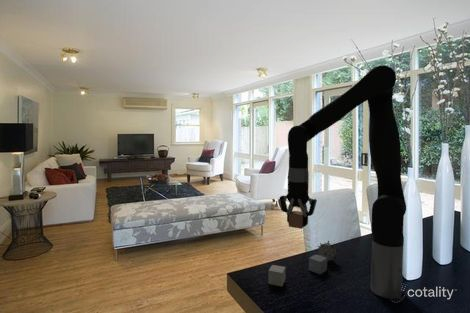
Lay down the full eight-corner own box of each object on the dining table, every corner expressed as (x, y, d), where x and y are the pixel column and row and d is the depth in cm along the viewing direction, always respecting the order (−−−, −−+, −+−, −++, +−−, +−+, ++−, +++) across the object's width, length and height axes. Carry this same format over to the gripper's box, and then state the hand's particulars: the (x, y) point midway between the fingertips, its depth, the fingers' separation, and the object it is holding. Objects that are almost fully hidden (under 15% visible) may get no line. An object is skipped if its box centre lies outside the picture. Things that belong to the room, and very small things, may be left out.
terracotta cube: (305, 225, 111) (306, 212, 110) (301, 228, 106) (301, 215, 106) (293, 223, 113) (293, 210, 113) (288, 226, 109) (288, 213, 108)
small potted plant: (322, 270, 122) (308, 252, 121) (326, 256, 129) (313, 239, 128) (341, 266, 117) (327, 246, 116) (344, 251, 124) (331, 233, 123)
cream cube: (285, 280, 107) (285, 267, 107) (282, 286, 102) (282, 272, 102) (271, 277, 109) (272, 264, 108) (268, 284, 104) (268, 270, 104)
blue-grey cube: (326, 270, 115) (327, 258, 114) (320, 274, 111) (320, 261, 111) (315, 266, 118) (315, 254, 118) (308, 270, 115) (309, 257, 115)
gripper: (320, 180, 108) (319, 225, 109) (283, 177, 115) (283, 219, 117) (314, 182, 101) (313, 230, 103) (276, 179, 109) (275, 224, 110)
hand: (297, 224), depth 110 cm, fingers closed on terracotta cube, 5 cm apart
